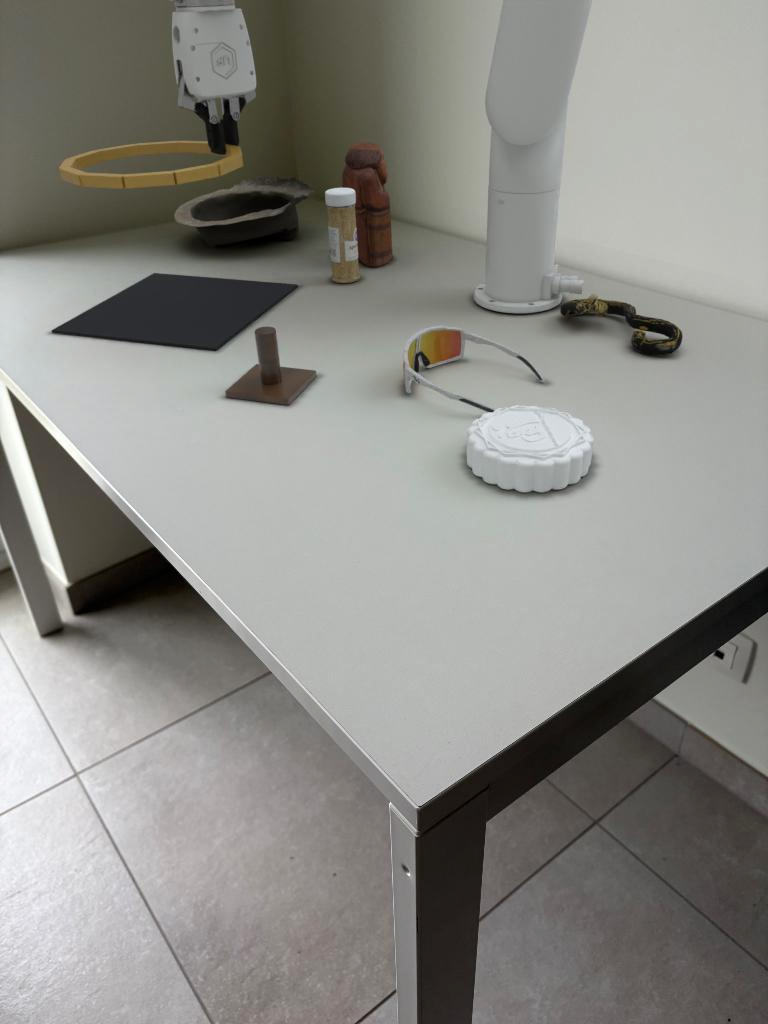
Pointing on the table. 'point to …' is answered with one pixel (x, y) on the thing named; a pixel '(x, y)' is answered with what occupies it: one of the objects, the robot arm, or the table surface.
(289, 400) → the wooden peg stand
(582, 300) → the rubber snake
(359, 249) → the wooden figurine
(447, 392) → the sunglasses
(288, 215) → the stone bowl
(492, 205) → the robot arm
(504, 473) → the mooncake
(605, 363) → the table surface
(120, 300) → the mat
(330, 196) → the sprinkles bottle
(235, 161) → the ring
